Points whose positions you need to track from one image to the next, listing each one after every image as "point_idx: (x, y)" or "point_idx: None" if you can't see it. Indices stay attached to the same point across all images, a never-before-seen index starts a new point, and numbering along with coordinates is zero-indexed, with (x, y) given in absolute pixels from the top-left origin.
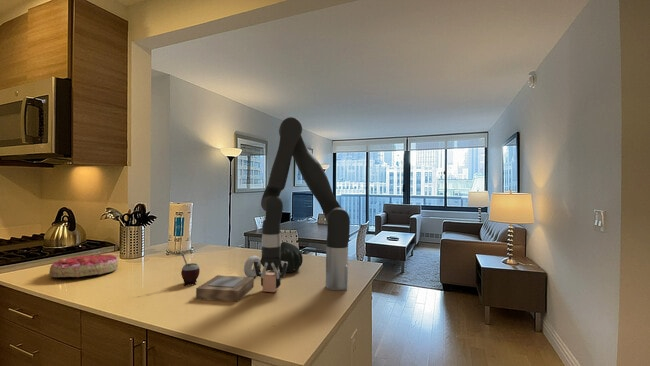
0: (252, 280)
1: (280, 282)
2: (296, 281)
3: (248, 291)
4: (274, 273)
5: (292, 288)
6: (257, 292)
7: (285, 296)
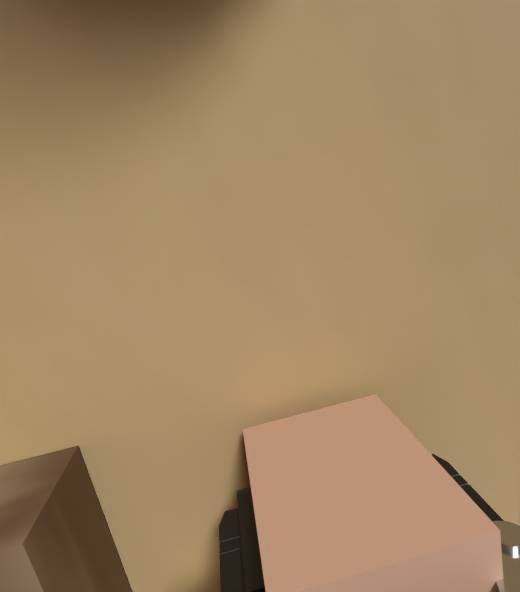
0: (55, 560)
1: (463, 481)
2: (474, 50)
3: (123, 574)
4: (440, 590)
5: (496, 308)
6: (216, 540)
7: (493, 505)
